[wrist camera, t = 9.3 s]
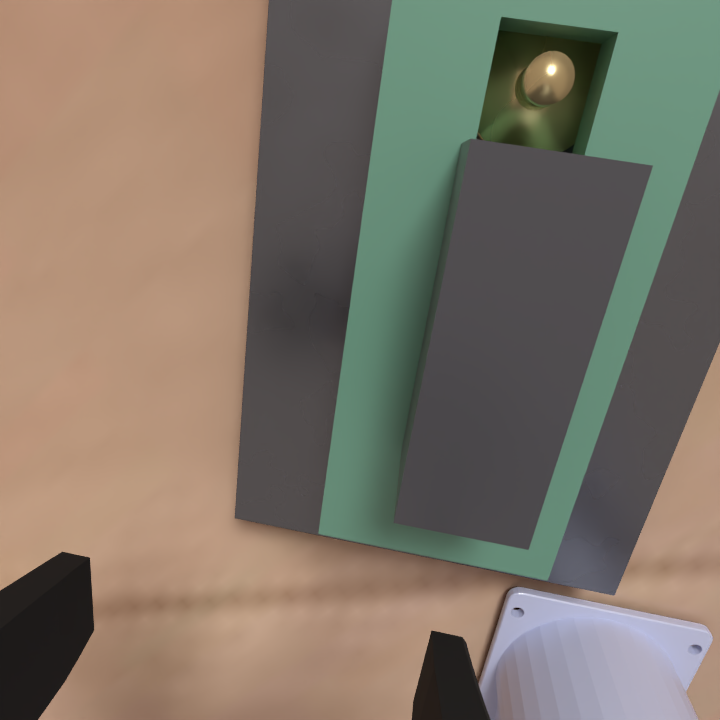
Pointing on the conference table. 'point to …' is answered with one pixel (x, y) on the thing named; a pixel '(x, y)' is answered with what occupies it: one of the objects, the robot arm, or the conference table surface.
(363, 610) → the conference table surface
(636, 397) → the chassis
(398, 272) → the board
